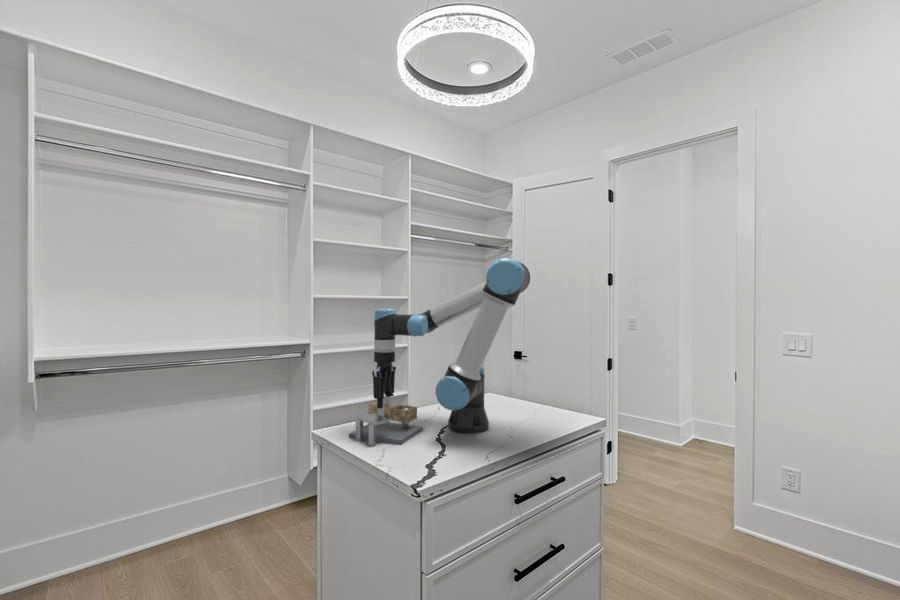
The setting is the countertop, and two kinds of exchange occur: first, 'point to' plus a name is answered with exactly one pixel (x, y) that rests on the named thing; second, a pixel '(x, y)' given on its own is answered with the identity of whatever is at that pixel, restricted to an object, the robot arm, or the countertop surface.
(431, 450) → the countertop surface
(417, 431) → the base plate
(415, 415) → the link
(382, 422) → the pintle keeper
